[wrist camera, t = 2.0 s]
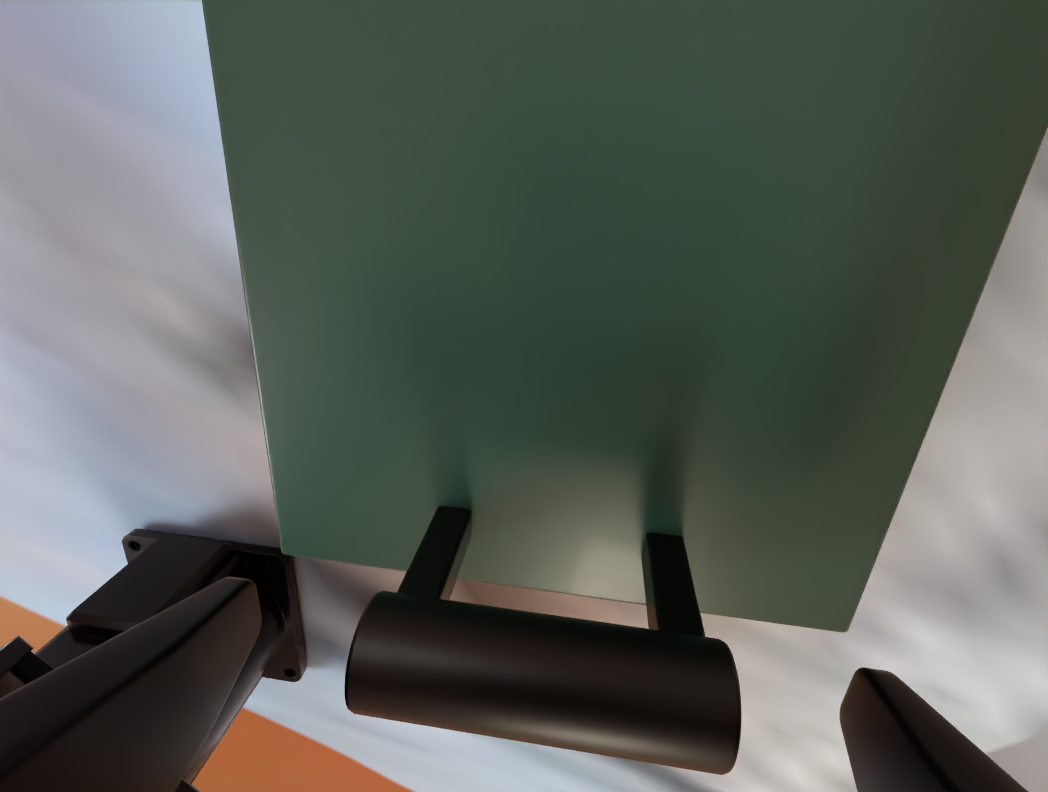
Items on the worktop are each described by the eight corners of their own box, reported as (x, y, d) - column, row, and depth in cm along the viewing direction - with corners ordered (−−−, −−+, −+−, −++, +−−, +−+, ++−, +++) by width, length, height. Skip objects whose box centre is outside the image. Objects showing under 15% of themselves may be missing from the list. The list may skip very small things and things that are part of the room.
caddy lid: (832, 604, 11) (980, 884, 7) (299, 532, 12) (133, 734, 8) (1094, -98, 7) (2001, -580, 2) (217, -114, 8) (-269, -469, 3)
